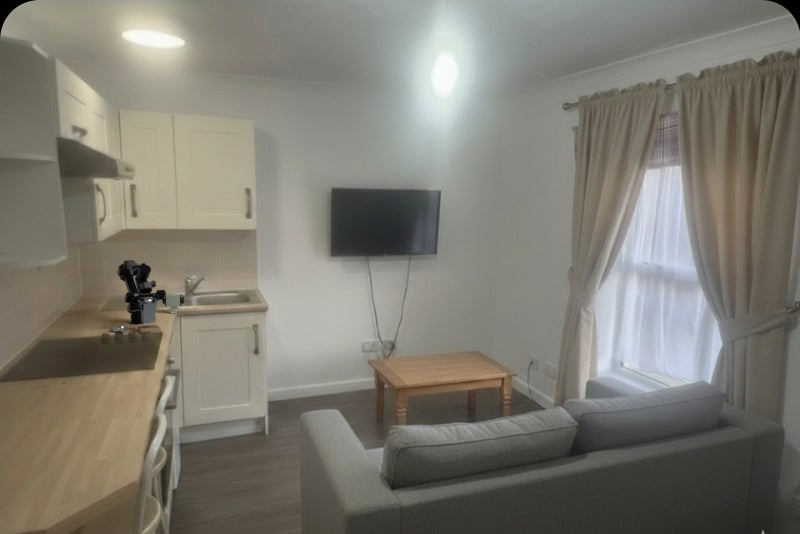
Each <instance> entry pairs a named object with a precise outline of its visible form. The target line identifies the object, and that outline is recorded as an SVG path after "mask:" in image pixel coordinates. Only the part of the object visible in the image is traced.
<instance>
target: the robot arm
mask: <svg viewBox="0 0 800 534" xmlns="http://www.w3.org/2000/svg"><path fill="white" fill-rule="evenodd" d="M151 271H152V268H151V266H150V265H147V264H146V263H145V262H143V263H140V264H138V263H137V262H135V260H133V259H130V260H129V259H128V260H124V261H123V262H122V264H120V265H118V267H117V276H118V277H119V279H120V280H121V281H123V282H124V285H125V286H126V290H127V292H126V293H125V295H124V302H125V303H127V307H126V310H127V313H129V314H130V321H128V322H127V323H128V324H132V325H140V324H144V323H143V322H142V319H141V310H142V311H143V306H142V303H141V302H144V299H145V298H152V301H153V302H154V303H155V310H156V309H157V302H159V301H162V300H163V299H164V297H165V295H167V292H166V290H165V289H157V290H156V292H153V289H154V288H156V287H157V283H156V280H151V281H149V280H148V279H149V277H150V274H151V273H152V272H151Z"/></svg>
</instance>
